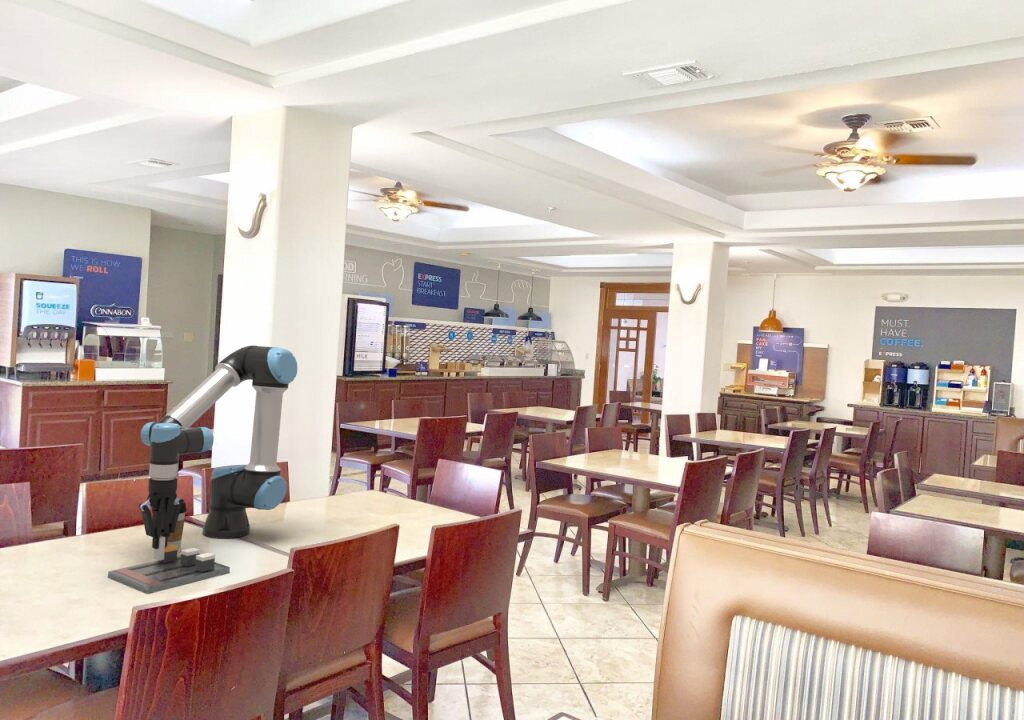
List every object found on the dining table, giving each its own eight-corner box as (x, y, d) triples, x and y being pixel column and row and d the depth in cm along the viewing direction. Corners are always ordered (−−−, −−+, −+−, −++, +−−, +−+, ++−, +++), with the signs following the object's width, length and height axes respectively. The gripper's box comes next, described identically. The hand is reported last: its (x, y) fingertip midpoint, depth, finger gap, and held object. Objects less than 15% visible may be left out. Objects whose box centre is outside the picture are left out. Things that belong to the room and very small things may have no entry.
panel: (189, 558, 231) (189, 553, 231) (229, 572, 220) (229, 566, 220) (107, 577, 210) (108, 571, 210) (147, 593, 199) (148, 587, 199)
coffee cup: (173, 556, 232) (175, 507, 232) (148, 552, 234) (151, 504, 233) (190, 549, 240) (192, 501, 240) (166, 545, 242) (168, 498, 242)
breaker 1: (192, 561, 223) (193, 547, 222) (199, 563, 221) (199, 549, 221) (180, 564, 219) (181, 550, 219) (186, 566, 218) (187, 552, 217)
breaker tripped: (170, 557, 224) (171, 544, 224) (176, 560, 223) (177, 546, 223) (158, 560, 221) (158, 546, 221) (164, 562, 219) (165, 549, 219)
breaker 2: (207, 566, 219) (208, 552, 219) (214, 568, 217) (215, 554, 217) (195, 569, 215) (196, 555, 215) (201, 571, 214) (202, 557, 214)
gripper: (176, 473, 226) (172, 551, 227) (134, 478, 215) (129, 561, 216) (191, 477, 222) (187, 557, 223) (149, 482, 211) (145, 566, 212)
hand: (158, 558), depth 220 cm, fingers closed
